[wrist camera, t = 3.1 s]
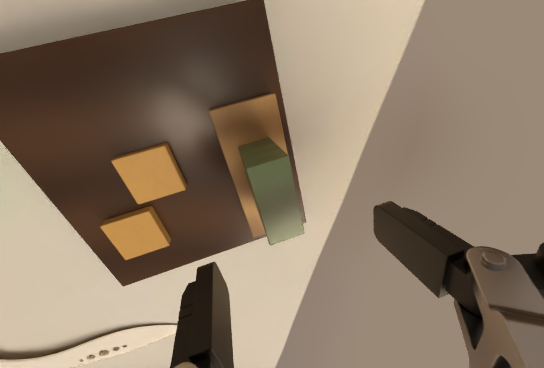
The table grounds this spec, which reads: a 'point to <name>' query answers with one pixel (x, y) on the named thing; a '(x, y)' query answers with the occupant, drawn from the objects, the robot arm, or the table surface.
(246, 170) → the wooden block stand
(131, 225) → the cracker
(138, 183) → the cracker
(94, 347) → the knife
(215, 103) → the cutting board
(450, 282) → the robot arm
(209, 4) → the table surface
